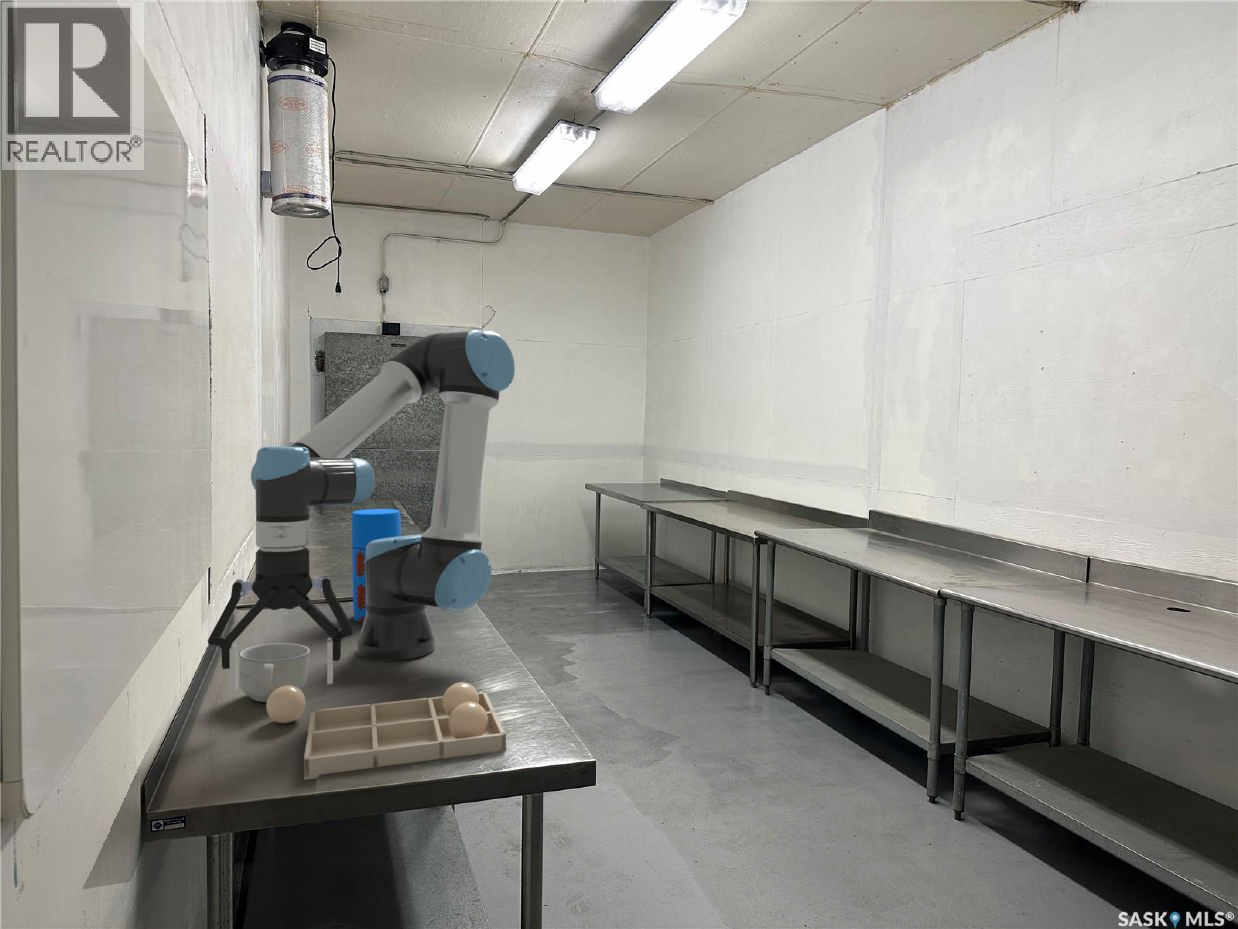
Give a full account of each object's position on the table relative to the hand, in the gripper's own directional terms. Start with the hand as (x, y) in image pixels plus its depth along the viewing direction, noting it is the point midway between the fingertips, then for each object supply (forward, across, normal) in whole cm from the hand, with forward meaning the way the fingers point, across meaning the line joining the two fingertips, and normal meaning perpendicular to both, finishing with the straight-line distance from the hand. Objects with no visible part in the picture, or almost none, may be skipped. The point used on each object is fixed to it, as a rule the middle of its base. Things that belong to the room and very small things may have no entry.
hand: (282, 685), depth 119 cm
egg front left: (+5, +26, -16) cm, 31 cm away
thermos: (+5, +16, +61) cm, 64 cm away
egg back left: (+5, +26, -8) cm, 28 cm away
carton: (+6, +18, -12) cm, 22 cm away
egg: (+6, 0, 0) cm, 6 cm away
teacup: (+6, -2, +11) cm, 13 cm away
